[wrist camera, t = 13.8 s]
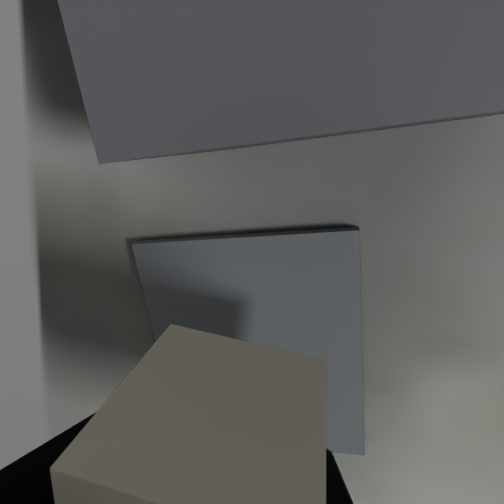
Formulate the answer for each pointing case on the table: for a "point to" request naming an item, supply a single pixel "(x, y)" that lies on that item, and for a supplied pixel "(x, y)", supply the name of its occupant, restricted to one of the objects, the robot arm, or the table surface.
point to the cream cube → (204, 429)
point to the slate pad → (270, 303)
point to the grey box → (277, 69)
